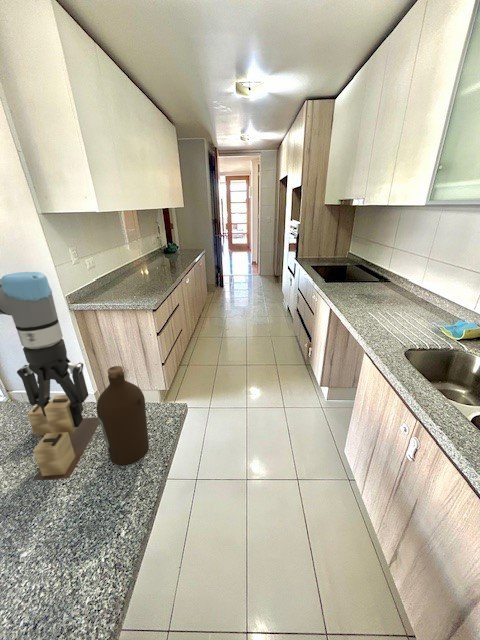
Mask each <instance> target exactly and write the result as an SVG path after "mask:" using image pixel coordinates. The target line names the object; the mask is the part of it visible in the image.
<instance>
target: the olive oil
mask: <svg viewBox="0 0 480 640" xmlns="http://www.w3.org/2000/svg"><path fill="white" fill-rule="evenodd" d="M125 377H126V376H125V372H124V368H123V366H121V365H114V366H111V367H109V368H108V369H107V378H108V382H109V384H108V386H107V387H106V388H105V389H104V390H103V391H102V392H101V394H100V395H99V397H98V399H97V403H96V415H97V417H98V418H99V422H100V424H99V426H100V427H101V431H102V434H103V439H104V440H105V443H106V448H107V451H108V454H109V455H108V456H109V459H110V461H111V462H112V463H113V464H114V465H115V466H119V467H126V466H131V465H134V464H136V463H138V462H139V461H140V460H142V459H143V458H144V457H145V456H146V455H148V452H149V449H150V444H149V434H148V433H149V432H148V423H147V409H146V399H145V395H144V392H143V390H142V389H141V388H140V387H139V386H138V385H136V384H134V383H132V382H130V381H128V380H126V378H125Z"/></svg>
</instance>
